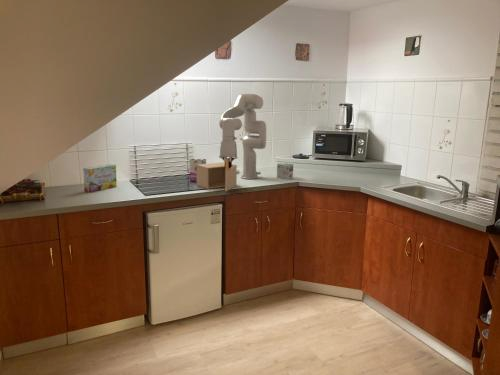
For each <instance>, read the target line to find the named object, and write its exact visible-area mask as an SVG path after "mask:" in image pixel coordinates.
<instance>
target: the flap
mask: <svg viewBox="0 0 500 375" xmlns="http://www.w3.org/2000/svg"><path fill="white" fill-rule="evenodd" d="M229 161H230V157H227V159H226V170H225V187H224V189H225V191H224V192H228V191H229V190H231V189H232V188H234V187H235V186H237V185H238V184H237V180H238V179H237V177H238V176H237V173H238V171H237V170H238V167H237V164H234V165H235V166H233V167H231V168H229Z"/></svg>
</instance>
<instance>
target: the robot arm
mask: <svg viewBox="0 0 500 375" xmlns="http://www.w3.org/2000/svg"><path fill="white" fill-rule="evenodd" d="M263 106H264V100H263V97H262V96H260V95H258V94H255V93H241V94H239V95H238V96H237V98H236V101H235V103H234V104H233V106H232V107H230V108H228V109H227V110H225V111H224V112H223V113H222V115H221V117H220V119H219V128H220V129H221V131H222V134H221V135H222V136H221V137H222V140H221V141H220V147H219V148H220V149H219V156H218V157H219V159H221V160H223V162H225V168H226V159H227V158H230V161H229V168H231V167H232V164H233V162H234V160H236V159H238V149H237V146H238V145H237V139H238V137H236V136H235V131H239V130H240V129H242V127H243V123H244V132H245V133H246V135H245V136H243V138H242V142H241V143H242V148H243V149H242V150H243V156H242V157H243V159H242V160H243V162H242V165H243V166H242V168H243V169H242V175H241V177H240V178H241V179H243V180H257V179H258V178H259V176H258V175H262V172H261V171H257V153H256V149H257V150H263V149H265V148H266V146H267V124H266V122H265V121H264V120H257V112H256V110H261V109H262V108H263ZM240 117H244V122H242V120H241V119H240ZM250 134H251V135H250ZM252 134H253V135H252ZM257 134H258V135H257ZM254 149H255V150H254Z"/></svg>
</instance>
